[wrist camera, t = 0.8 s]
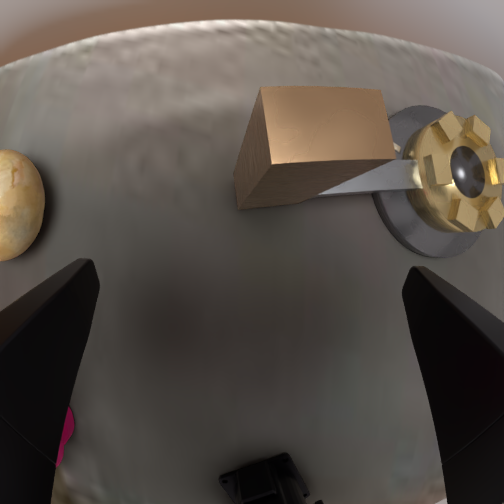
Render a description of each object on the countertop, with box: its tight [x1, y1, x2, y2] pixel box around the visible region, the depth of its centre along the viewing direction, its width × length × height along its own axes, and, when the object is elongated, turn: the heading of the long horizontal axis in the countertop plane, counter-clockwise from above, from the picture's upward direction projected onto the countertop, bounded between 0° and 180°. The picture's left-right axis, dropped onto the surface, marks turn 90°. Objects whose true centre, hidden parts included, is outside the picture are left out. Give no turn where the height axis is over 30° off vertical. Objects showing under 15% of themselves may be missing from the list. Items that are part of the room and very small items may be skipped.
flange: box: [372, 105, 482, 258], centre depth 23 cm, size 13×13×2 cm
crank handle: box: [233, 86, 504, 233], centre depth 16 cm, size 22×9×12 cm, turn 97°
